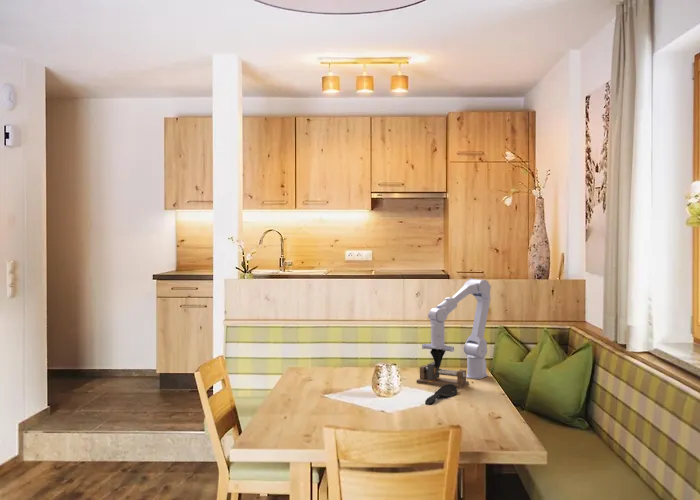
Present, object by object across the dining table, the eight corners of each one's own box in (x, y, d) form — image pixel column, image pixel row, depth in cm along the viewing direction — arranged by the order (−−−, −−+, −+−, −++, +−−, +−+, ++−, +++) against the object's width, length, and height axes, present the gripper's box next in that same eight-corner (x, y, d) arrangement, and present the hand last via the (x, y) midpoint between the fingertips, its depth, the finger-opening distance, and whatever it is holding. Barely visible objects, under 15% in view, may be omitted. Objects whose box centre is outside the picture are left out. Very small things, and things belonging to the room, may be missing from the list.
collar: (434, 376, 298) (434, 361, 297) (439, 377, 296) (439, 362, 296) (427, 379, 292) (427, 364, 292) (432, 380, 291) (432, 365, 291)
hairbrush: (417, 397, 259) (442, 380, 281) (417, 406, 260) (442, 389, 281) (437, 400, 255) (460, 383, 277) (437, 409, 255) (461, 392, 277)
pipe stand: (427, 378, 302) (427, 364, 301) (468, 384, 290) (468, 369, 290) (416, 382, 293) (416, 368, 293) (458, 388, 282) (458, 373, 282)
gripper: (418, 335, 293) (418, 366, 294) (448, 338, 285) (449, 370, 285) (426, 333, 299) (426, 363, 299) (456, 335, 291) (456, 367, 291)
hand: (437, 366), depth 293 cm, fingers closed
